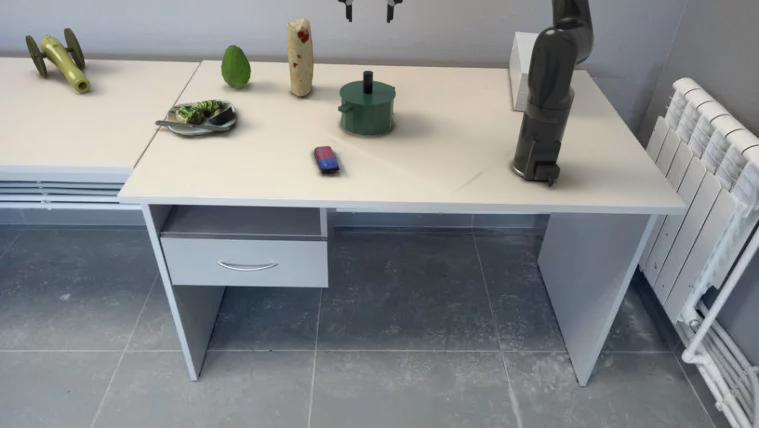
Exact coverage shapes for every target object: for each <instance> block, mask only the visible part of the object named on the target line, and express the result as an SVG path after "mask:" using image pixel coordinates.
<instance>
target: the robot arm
mask: <svg viewBox="0 0 759 428" xmlns="http://www.w3.org/2000/svg"><path fill="white" fill-rule="evenodd" d="M354 1H355V0H337V2H338V3H342V4H344V5H345V18H346V20H348V23H353V2H354ZM550 1H551V9H552V10H551V11H552V12H551V13H552V14H551V15H552V25H549V26H547V27H546V28H544V29H542V30H541V31H540V33H538V34H539V35H538V36H537V38H536V40H535V43H534V46H533V50H532V55H531V60H530V66H529V72H528V78H527V85H528V96H527V101H526V105H525V110H524V111H523V115H522V119H521V120H522V121H521V124H520V127H519V132H518V136H517V143H516V146H515V152H514V155H513V159H512V162H511V169H512V170H513V172H515V174H517V175H518V176H520V177H522V178H523V179H524V180H525V181H548V185H547V186H548V187H549V188H551V187H553V185H554V181H558V179H559V176H560V173H561V167H560V166H559V165H558V163H557V162H558V159H559V155H560V151H561V148H562V142H563V138H564V135H565V131H566V128H567V124H568V121H569V117H570V113H571V110H572V106H573V103H574V99H575V94H576V91H575V89H574V88H573V86H571V84H572V80H573V75H574V71H575V67H577V66H579V65H581V64H582V63H584V62H586V60H588V58H589V57H591V54H592V52H593V49H594V46H595V33H594V28H593V27H594V26H593V21H592V14H591V8H590V2H589V0H550ZM386 2H387V3H386V23H387V24H391V21H393V20H394V15H395V6H396V5H398V4H402V3H404V0H386Z"/></svg>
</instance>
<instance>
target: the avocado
mask: <svg viewBox="0 0 759 428" xmlns="http://www.w3.org/2000/svg"><path fill="white" fill-rule="evenodd" d="M220 71H221V76H222V79H223V81H224V82H225V83H226V84H227V85H228V86H230V87H231V88H234V89H241V88H244V87H245V86H246V85H247V84H248V83H249V81H250V79H251V76H252V75H251V74H252V68H251V64H250V62H249V60H248V58H247V56H246V54H245V53H244V50H243V48H241V47H240V46H237V45H235V44H231V45H229V46H227V48H226V49H225V51H224V54H223V57H222V61H221V64H220Z"/></svg>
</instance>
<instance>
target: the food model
mask: <svg viewBox="0 0 759 428" xmlns="http://www.w3.org/2000/svg"><path fill="white" fill-rule="evenodd" d="M286 28H287V60H288V67H289V68H288V69H289V79H290V80H289V81H290V89H291V92H292V94H293V95H295V96H297V97H305V96H307V95H308V94H309V93H310V92H311V91H312V87H313V80H314V79H313V78H314V65H315V60H314V59H315V58H314V46H313V45H314V44H313V37H312V30H311V22H310V20H309V19H308V18H306V17H303V16H302V17H297V18H296V19H294V20H293V21H290V22H287V24H286Z"/></svg>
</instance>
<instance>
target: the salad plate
mask: <svg viewBox="0 0 759 428" xmlns="http://www.w3.org/2000/svg"><path fill="white" fill-rule="evenodd" d="M237 122H238V115H237V111H236V108H235V106H234V104H233V103H232V102H230V101H229V100H225V99H207V100H201V101H194V102H184V103H179V104H176V105H174V106H172V107H170V108H169V109H168V110H167V112H166V120H162V119H161V120H158V119H157V120H156V121H155V122H154V125H155V126H159V127H164V128H167V129H169V130H170V131H171V132H173V133H176V134H179V135H182V136H201V135H202V136H203V135H215V134H222V133H226V132H229V131H230V130H232V129H233V128H234V127H235V126H236V124H237Z"/></svg>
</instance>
